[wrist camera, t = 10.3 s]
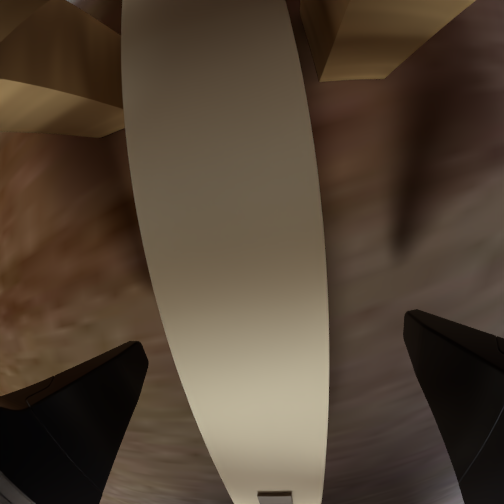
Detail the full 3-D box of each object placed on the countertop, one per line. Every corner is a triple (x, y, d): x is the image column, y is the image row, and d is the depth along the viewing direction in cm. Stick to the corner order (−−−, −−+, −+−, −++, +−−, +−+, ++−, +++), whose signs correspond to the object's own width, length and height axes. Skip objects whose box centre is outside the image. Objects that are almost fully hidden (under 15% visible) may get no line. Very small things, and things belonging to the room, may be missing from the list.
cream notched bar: (316, 437, 13) (319, 518, 8) (253, 440, 13) (240, 519, 8) (262, -28, 7) (247, -112, 2) (181, -12, 8) (130, -82, 3)
